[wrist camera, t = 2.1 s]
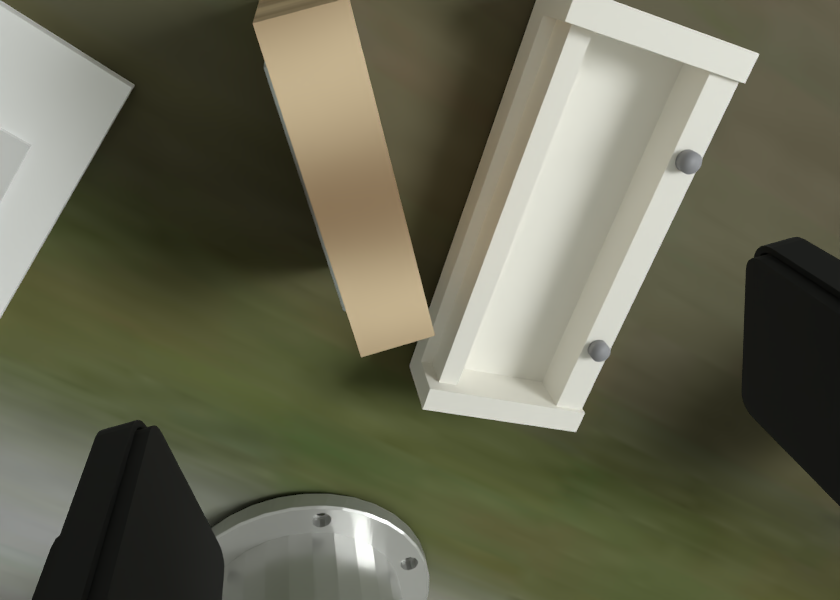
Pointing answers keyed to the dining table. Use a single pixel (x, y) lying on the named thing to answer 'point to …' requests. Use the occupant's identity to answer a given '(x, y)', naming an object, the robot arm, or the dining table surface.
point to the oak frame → (344, 166)
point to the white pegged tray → (570, 207)
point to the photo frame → (45, 134)
